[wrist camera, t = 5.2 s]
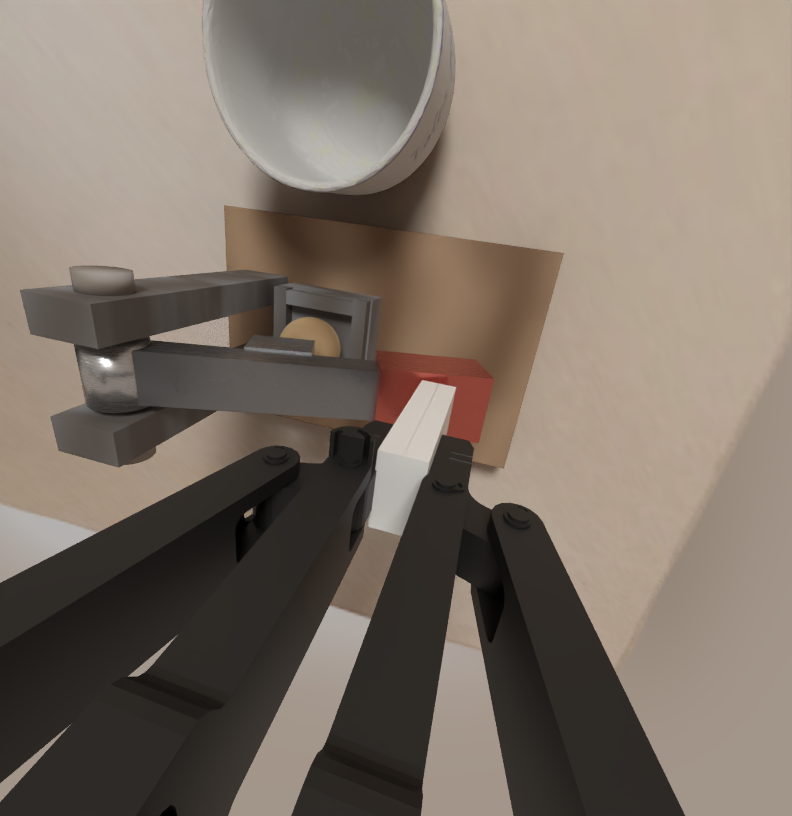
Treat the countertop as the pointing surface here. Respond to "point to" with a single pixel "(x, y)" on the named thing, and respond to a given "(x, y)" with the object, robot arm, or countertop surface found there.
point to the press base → (414, 298)
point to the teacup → (332, 86)
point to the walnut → (315, 335)
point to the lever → (278, 381)
